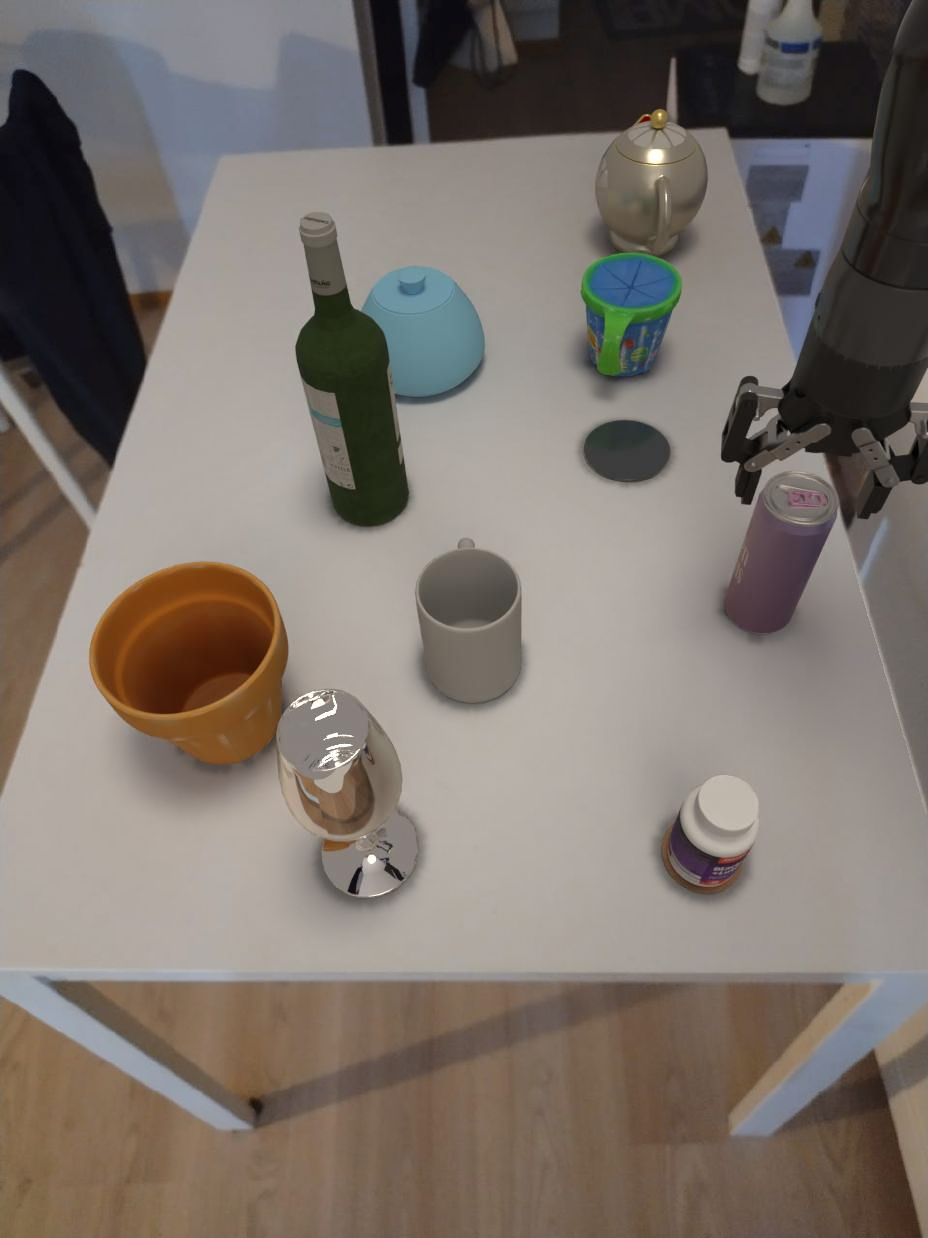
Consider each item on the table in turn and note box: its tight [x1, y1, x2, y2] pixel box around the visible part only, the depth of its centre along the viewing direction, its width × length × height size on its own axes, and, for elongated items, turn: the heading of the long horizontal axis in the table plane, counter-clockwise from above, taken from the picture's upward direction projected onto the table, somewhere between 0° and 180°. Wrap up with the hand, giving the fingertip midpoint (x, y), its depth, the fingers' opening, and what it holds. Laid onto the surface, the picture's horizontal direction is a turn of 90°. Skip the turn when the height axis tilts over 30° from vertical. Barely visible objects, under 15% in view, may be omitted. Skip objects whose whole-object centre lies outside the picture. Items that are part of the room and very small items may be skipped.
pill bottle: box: [667, 774, 761, 887], centre depth 61 cm, size 5×5×10 cm
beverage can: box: [723, 470, 840, 635], centre depth 72 cm, size 6×6×15 cm
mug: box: [414, 537, 523, 704], centre depth 73 cm, size 12×8×11 cm
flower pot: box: [88, 561, 289, 766], centre depth 69 cm, size 14×14×13 cm
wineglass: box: [275, 688, 420, 899], centre depth 59 cm, size 8×8×20 cm
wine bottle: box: [294, 211, 410, 527], centre depth 76 cm, size 8×8×30 cm
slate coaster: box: [583, 419, 671, 483], centre depth 90 cm, size 9×9×1 cm
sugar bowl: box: [360, 265, 486, 398], centre depth 96 cm, size 15×15×12 cm
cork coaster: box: [661, 823, 744, 894], centre depth 65 cm, size 6×6×1 cm
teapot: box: [594, 108, 709, 258], centre depth 105 cm, size 18×14×16 cm
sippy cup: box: [580, 252, 683, 378], centre depth 95 cm, size 16×10×10 cm
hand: (803, 503), depth 66 cm, fingers open, 8 cm apart
